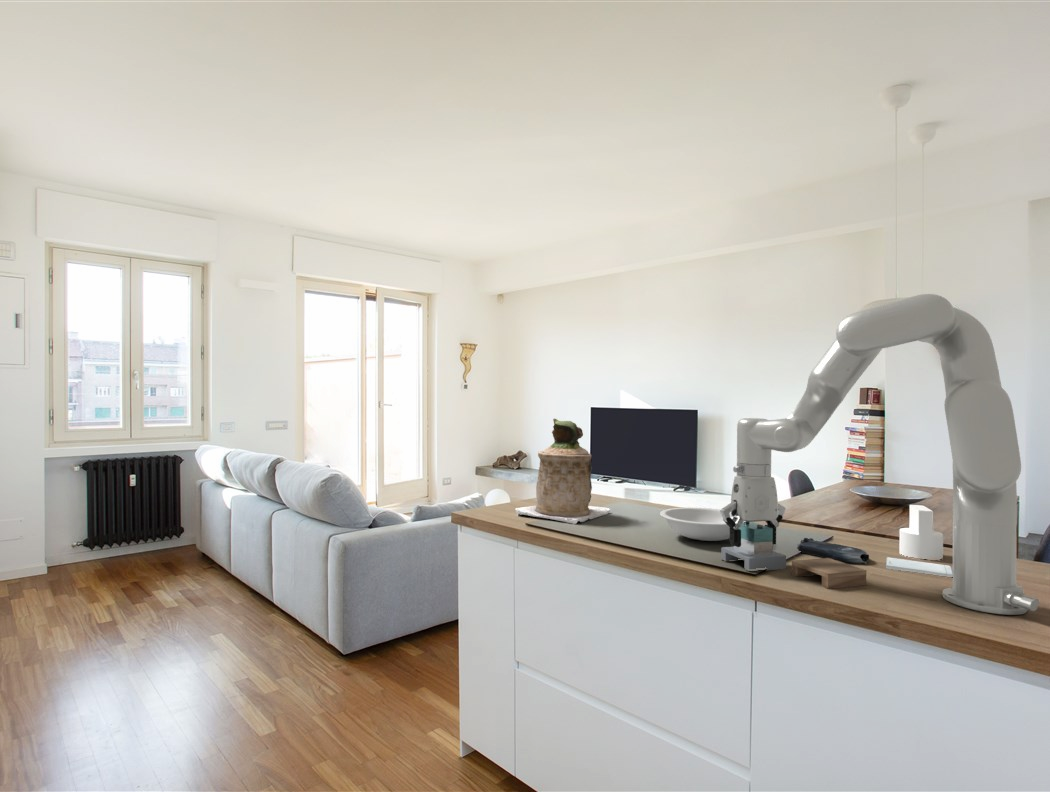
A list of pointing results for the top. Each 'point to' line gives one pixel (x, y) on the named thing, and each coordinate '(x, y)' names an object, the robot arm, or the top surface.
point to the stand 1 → (755, 559)
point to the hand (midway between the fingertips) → (752, 544)
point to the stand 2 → (830, 572)
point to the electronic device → (833, 551)
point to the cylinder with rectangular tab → (921, 535)
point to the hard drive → (918, 567)
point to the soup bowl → (698, 523)
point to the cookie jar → (564, 479)
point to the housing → (755, 539)
